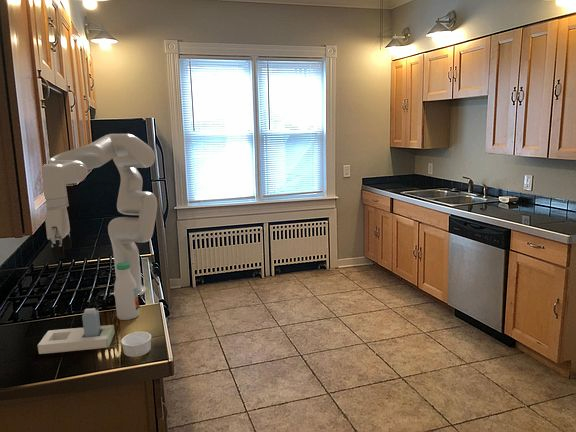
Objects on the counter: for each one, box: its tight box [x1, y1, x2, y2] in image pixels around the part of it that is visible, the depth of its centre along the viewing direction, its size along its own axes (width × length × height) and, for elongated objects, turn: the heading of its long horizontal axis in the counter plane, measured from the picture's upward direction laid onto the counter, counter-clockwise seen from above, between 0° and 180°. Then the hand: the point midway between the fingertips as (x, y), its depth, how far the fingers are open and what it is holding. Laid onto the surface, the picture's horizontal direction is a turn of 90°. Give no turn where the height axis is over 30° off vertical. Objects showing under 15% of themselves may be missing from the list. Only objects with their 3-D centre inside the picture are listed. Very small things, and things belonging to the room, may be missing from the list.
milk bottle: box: [113, 262, 140, 321], centre depth 169 cm, size 8×8×20 cm
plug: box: [81, 307, 101, 338], centre depth 152 cm, size 4×4×11 cm
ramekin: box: [120, 331, 152, 358], centre depth 146 cm, size 9×9×4 cm
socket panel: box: [37, 324, 115, 355], centre depth 152 cm, size 10×21×3 cm, turn 99°
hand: (63, 253), depth 155 cm, fingers open, 9 cm apart
